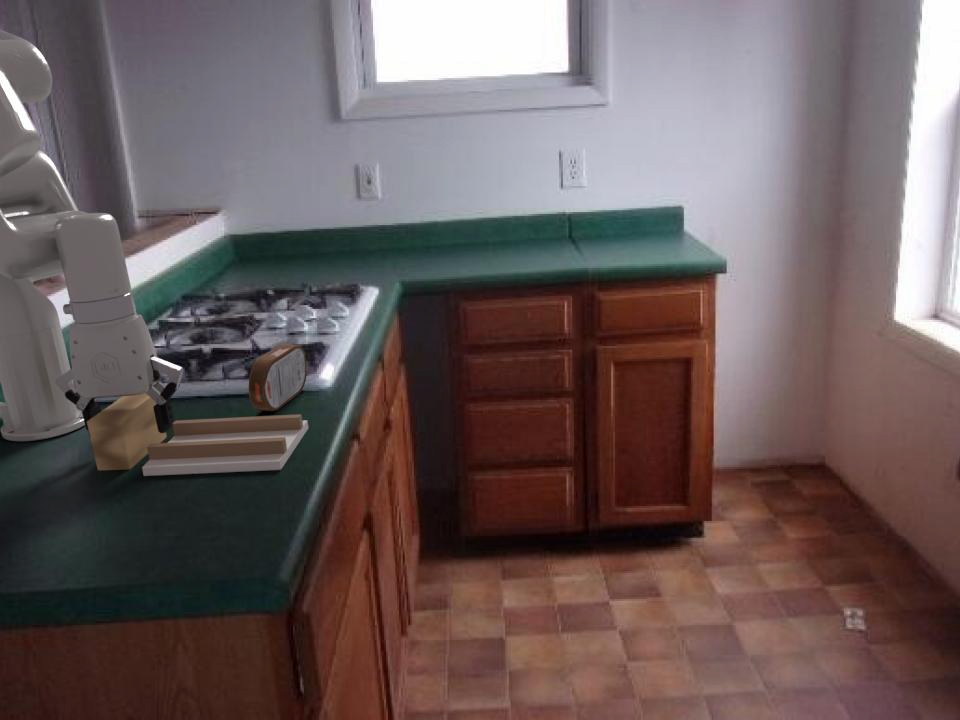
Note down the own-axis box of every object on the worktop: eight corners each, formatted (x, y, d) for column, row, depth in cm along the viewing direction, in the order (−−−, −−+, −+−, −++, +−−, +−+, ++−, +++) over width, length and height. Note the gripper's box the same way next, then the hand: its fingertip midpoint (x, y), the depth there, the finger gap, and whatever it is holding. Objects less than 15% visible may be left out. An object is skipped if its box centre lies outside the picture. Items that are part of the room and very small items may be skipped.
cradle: (143, 475, 110) (139, 454, 110) (185, 434, 124) (182, 414, 123) (280, 469, 109) (277, 447, 108) (308, 428, 122) (305, 408, 121)
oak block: (98, 471, 114) (86, 421, 111) (137, 438, 124) (127, 392, 122) (130, 470, 113) (119, 420, 111) (167, 437, 123) (157, 391, 121)
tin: (295, 385, 142) (288, 336, 139) (313, 385, 141) (306, 336, 138) (251, 419, 128) (242, 365, 125) (270, 420, 127) (261, 365, 125)
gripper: (25, 322, 109) (56, 446, 114) (156, 311, 108) (182, 438, 113) (56, 308, 117) (85, 426, 121) (179, 298, 115) (203, 417, 120)
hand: (132, 432), depth 117 cm, fingers open, 9 cm apart
